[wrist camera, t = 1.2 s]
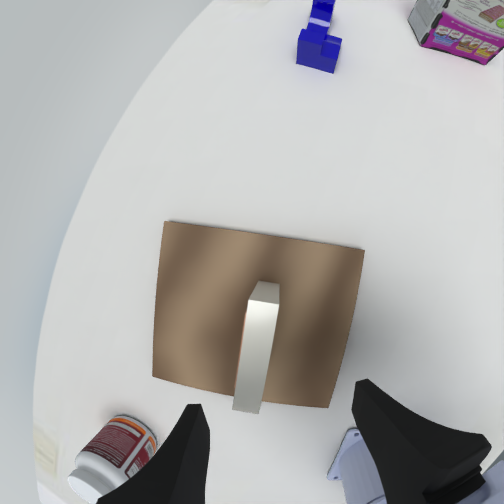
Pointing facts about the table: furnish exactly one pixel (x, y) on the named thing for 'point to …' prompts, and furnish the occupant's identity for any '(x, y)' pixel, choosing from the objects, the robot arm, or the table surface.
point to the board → (235, 305)
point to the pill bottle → (111, 458)
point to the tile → (256, 347)
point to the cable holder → (319, 39)
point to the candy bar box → (460, 27)
